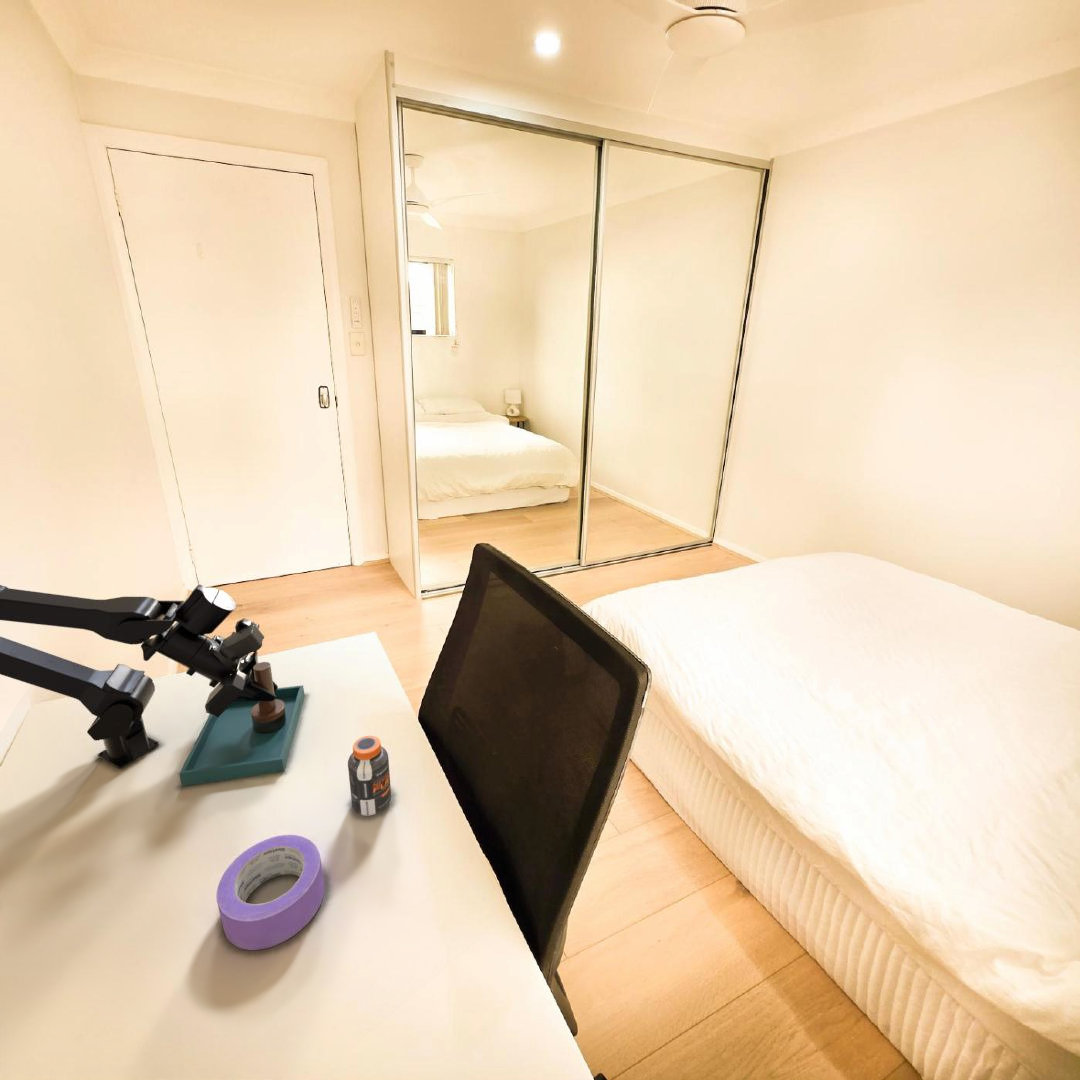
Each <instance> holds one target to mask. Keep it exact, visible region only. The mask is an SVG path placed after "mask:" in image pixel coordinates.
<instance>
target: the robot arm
mask: <svg viewBox="0 0 1080 1080" xmlns="http://www.w3.org/2000/svg"><path fill="white" fill-rule="evenodd" d="M236 608H237V604H236V601H235V599H233V597H232V596H231V595H229V594H228V593H227V592H226V591H225V590H222V589H218V588H215V587H210V586H209V587H205V586H203V585H202V584H198V585H196V586H195V588H193V590H192V592H191V593H190V595H189V596H188V597H187V598H186V599H185V600H158V599H156V598H153V597H151V596H119V597H113V598H106V599H105V598H104V599H96V598H95V599H94V598H86V597H78V596H72V595H64V594H56V593H48V592H40V591H33V590H24V589H19V588H9V587H7V586H5V585H2V584H0V621H3V622H4V621H5V622H13V623H23V624H32V625H40V626H51V627H59V628H67V629H68V628H69V629H76V630H77V629H78V630H83V631H89V632H92V633H95V634H96V635H98V636H100V637H101V638H103V639H105V640H109V641H113V642H117V643H122V644H125V645H132V646H133V645H140V648H141V651H142V659H143V661H145V662H148V661H149V660H150V659H151V658H152V657H153V656H154V655H155V654H156V653H158V654H160V655H162V656H164V657H166V658H167V659H170V660H172V661H174V662H175V663H177V664H179V665H181V666H183V667H185V668H187V670H186V672H185V674H186V675H188V676H190V677H192V676H193V675H194V674H195V673H197V674H198V675H200V676H202V677H204V678H206V679H208V680H209V683H208V686H210V687H211V688H213V690H212V691H210V693H209V694H208V697H207V699H206V702H205V704H204V709H205V713H207V714H208V715H212V716H214V717H216V718H218V717H219V716H220V715H221V714H222V713H223V712H224V711H225V710H226V709H227V708H228V707H229V706H230V705H231V704H232V702H233V701H273V700H274V699H275V698H276V696H275V695H274V694H273V693H272V692H271V691H269V690H268V689H266V688H265V687H263V686H262V685H260V684H259V683H258V682H256V681H255V678H254V671H253V667H254V665H256V664H258V663H259V657H258V651H259V650H260V649H261V648H262V647H263V641H264V639H265V636H264V634H263V633H262V632H261V631H260V624H258V623H256V622H254V621H251V620H249V619H247V618H242V619H239V620H238V621H236V624H235V625H234V629H235V631H232V632H231V634H230V635H229V636H227V637H223V636H221V635H220V634H219V635H216V634H215V635H214V636H212V637H210V636H208V635H210V634H213V633H214V632H215V631H216V630H217V629H218V628H219V626H221V624H222V623H223V622H224V621H225V620H226V619H227V618H228V617H229V616H230V615H231V614H232V613H233V612H234V611H235V610H236ZM251 653H252V654H251ZM145 673H146V671H145V670H139V669H135V668H132V667H130V666H128V665H126V664H123V663H118V664H117V665H116V666H115V668H114V669H113V670H111V669H110V670H98V669H94V668H92V667H90V666H86V665H83V664H80V663H77V662H74V661H72V660H69V659H66V658H63V657H61V656H57V655H54V654H52V653H49V652H46V651H43V650H40V649H37V648H35V647H32V646H29V645H26V644H23V643H20V642H18V641H14V640H11V639H9V638H7V637H3V636H0V675H1V676H4V677H7V678H10V679H13V680H16V681H20V682H22V683H26V684H29V685H32V686H35V687H37V688H41V689H44V690H47V691H51V692H53V693H56V694H59V695H62V696H66V697H68V698H72V699H75V700H77V701H79V702H80V703H81V704H82V705H83V706H84V707H85V708H86V709H87V711H88V712H89V713H90V714H91V715H93V716H95V717H96V718H95V719H94V720H93V722H92V723H91V725H90V727H89V728H88V729H87V731H86V733H87V734H88V736H90V737H91V739H92V740H93V741H95V742H97V741H103V745H104V750H102V751H100V752H99V753H98V754H97V757H98V758H99V759H101V760H102V761H104V762H106V763H108V764H110V765H112V767H115V768H116V769H123V768H124V767H126V766H128V765H130V764H131V763H133V762H134V761H136V760H138V759H140V758H142V757H143V756H144V755H146V754H148V753H150V752H151V751H153V750H154V749H156V748H157V747H159V746H160V743H159V741H156V740H154V739H153V738H151V737H148V734H147V730H146V726H145V722H144V719H143V714H144V712H145V710H146V708H147V707H148V704H149V703H150V701H151V699H152V697H153V696H154V694H155V691H156V686H155V683H154V682H153V679H152V677H150V676H148V675H146V674H145ZM273 686H274V691H276V690H277V688H279V686H278V685H277V684H276V682H275V681H274V680H273Z"/></svg>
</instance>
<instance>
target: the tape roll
mask: <svg viewBox="0 0 1080 1080" xmlns="http://www.w3.org/2000/svg"><path fill="white" fill-rule="evenodd" d="M323 872H324V871H323V866H322V859H321V854H320V851H319V848H318V847H317V845H316V844H315V843H314V842H313V841H311V839H309V838H307V837H305V836H302V835H298V834H282V835H281V834H280V835H276V836H272V837H269V838H266V839H264V840H261V841H259V842H257V843H256V844H254V845H252V846H250V847H249V848H247V849H246V850H244V851H243V852H242V853H240V854H239V855H238V856H237V857H236V858H235V859H234V860H233V861H232V862H231V863H230V864H229V866H228V867H227V868H226V869H225V871H224V872H223V873H222V876H221V878H220V879H219V882H218V885H217V890H216V903H217V908H218V911H219V915H220V919H221V924H222V927H223V931H224V934H225V936H226V938H227V940H228V941H229V942H230V943H231V944H232V945H233V946H235V947H237V948H239V949H242V950H245V951H246V950H248V951H257V950H264V949H268V948H272V947H274V946H277V945H279V944H282V943H283V942H285V941H288V940H289V939H291V938H292V937H294V936H295V935H296V934H298V933H299V932H300V931H302V930H303V929H304V927H306V926H307V925H308V924H309V923H310V921H311V920H312V919H313V917H314V916H315V915H316V914H317V912H318V910H319V909H320V906H321V904H322V903H323V899H324V896H325V888H326V887H325V885H326V884H325V878H324V873H323ZM284 875H293V876H297V877H298V879H297V881H295V883H294V884H293V885H292V886H291V888H290V889H289V890H287V891H286V892H284V893H283V894H282V895H280V896H278V897H277V898H274V899H272V900H269V901H267V902H262V903H248V902H247V900H248V899H249V897H250V896H251V894H252V893H253V892H254V891H255V890H256V889H257V888H258V887H259V886H261V885H262V884H263V883H265V882H267V881H269V880H271V879H273V878H275V877H279V876H284Z"/></svg>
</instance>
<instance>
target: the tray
mask: <svg viewBox="0 0 1080 1080" xmlns="http://www.w3.org/2000/svg"><path fill="white" fill-rule="evenodd" d="M304 689H305V688H304V685H303V684H301V685H294V686H293V685H292V686H284V687H278V688H277V690H276V691H274V694H275V696H276V698H275V699H279V700H281V701H283V702H284V704H285V712H286V720H287V721H286V723H285V725H284V726H283V727H282V728H281V729H279V730H277V731H275V732H272V733H267V734H261V733H257V732H255V731H254V729H253V724H252V717H251V709H252V708H253V707H254V706H255V705H256V704H258V701H233V702H232V704H231V705H230V706H229V707H228V708H227V709H226V710H225V711H224V712H223V713H222V714H221V715H220V716H219V717H218V718H216V717H214V716H212V715H210V714H208V717H207V719H206V721H205V722H204V724H203V727H202V728H201V731H200V732H199V735H198V736H197V738H196V739H195V742H194V744H193V746H192V748H191V750H190V751H189V753H188V755H187V758H186V760H184V761H185V762H184V763H183V766H182V768H180V771H179V773H178V775H179V778H180V782H181V787H187V786H193V785H194V786H195V785H202V784H207V783H214V782H220V781H221V782H223V781H229V780H235V779H241V778H250V777H256V776H262V775H263V776H264V775H269V774H275V773H276V774H277V773H282V772H285V771H286V767H287V763H288V759H289V755H290V752H291V749H292V744H293V741H294V737H295V734H296V730H297V727H298V722H299V718H300V714H301V711H302V707H303V704H304V700H305V697H306V696H305V695H306V694H305V690H304Z"/></svg>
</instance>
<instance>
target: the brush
mask: <svg viewBox="0 0 1080 1080" xmlns="http://www.w3.org/2000/svg"><path fill="white" fill-rule="evenodd" d="M253 671H254V678H255V681H256V682H258V683H259V684H260V685H262V686H263V687H265V688H266V689H268V690H269V691H271V692H272V693H273V694H274V686H273V681H274V680H273V679H274V678H273V672H272V665H271V663H270V662H267V661H262V662H258V664H256V665H254V667H253ZM274 695H275V694H274ZM251 717H252V724H253V729H254V731H255V732H257V733H261V734H267V733H272V732H275V731H277V730H279V729H281V728H282V727H283V726H284V725H285V723H286V721H287V720H286V712H285V704H284V702H283V701H281V700H279V699H274V700H273V701H258V704H256V705H255V706H254V707H253V708H252V709H251Z"/></svg>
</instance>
